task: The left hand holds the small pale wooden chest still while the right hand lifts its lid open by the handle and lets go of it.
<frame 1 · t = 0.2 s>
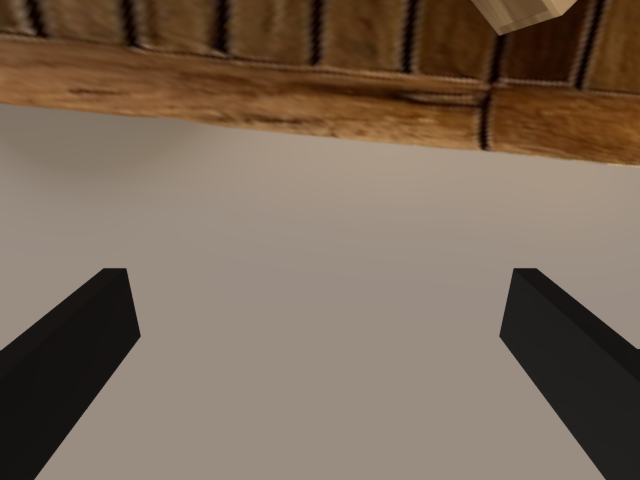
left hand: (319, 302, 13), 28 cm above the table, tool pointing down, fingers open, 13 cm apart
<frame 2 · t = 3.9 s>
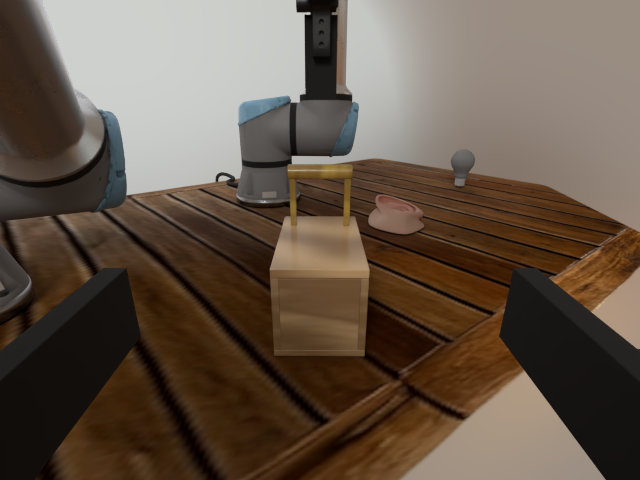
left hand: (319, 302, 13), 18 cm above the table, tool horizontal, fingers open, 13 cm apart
anatomical model: (395, 223, 74), on the table
chest: (319, 314, 43), on the table
light bulb: (459, 187, 103), on the table
lid: (319, 210, 39), point 13 cm above the table, hinge at 0.0°
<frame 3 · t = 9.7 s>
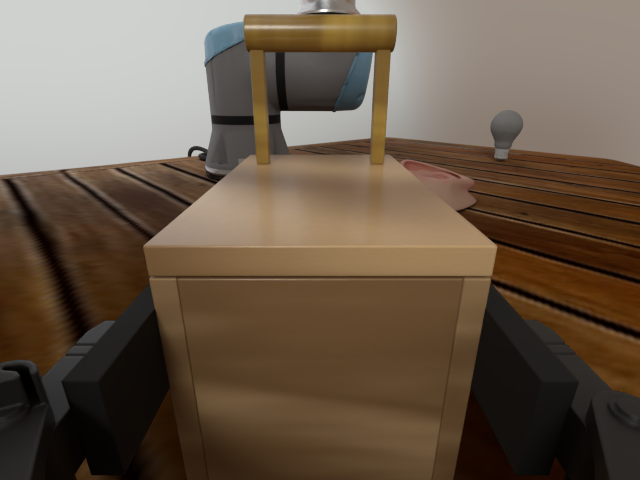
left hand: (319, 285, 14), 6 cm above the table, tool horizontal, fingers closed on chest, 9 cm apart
anatomical model: (430, 198, 50), on the table
chest: (320, 359, 20), on the table, touching left hand
light bulb: (500, 160, 79), on the table
lid: (320, 105, 15), point 13 cm above the table, hinge at 0.0°
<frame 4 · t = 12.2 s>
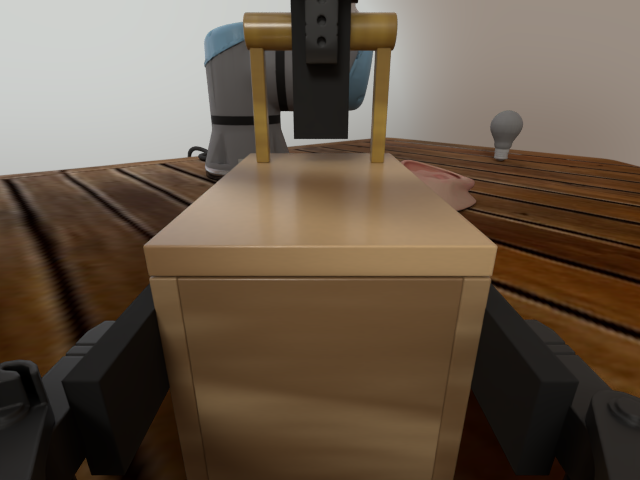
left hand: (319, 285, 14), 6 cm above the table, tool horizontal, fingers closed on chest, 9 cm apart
anatomical model: (430, 198, 50), on the table
chest: (320, 359, 20), on the table, touching left hand
light bulb: (500, 161, 79), on the table
lid: (320, 103, 15), point 13 cm above the table, hinge at 0.3°, touching right hand
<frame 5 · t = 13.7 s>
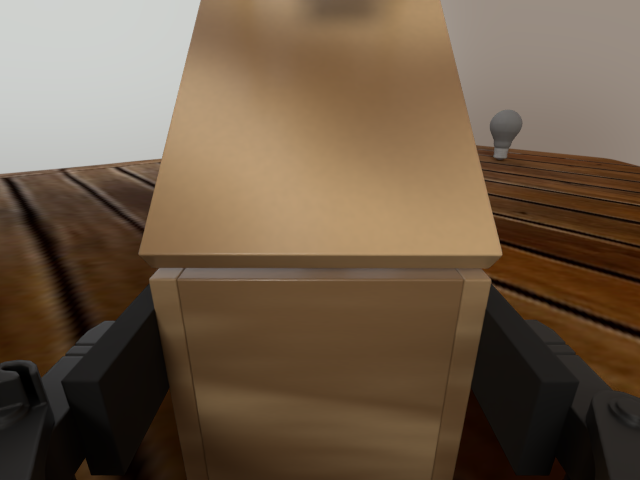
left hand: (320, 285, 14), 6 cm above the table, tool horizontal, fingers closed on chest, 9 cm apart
chest: (319, 358, 20), on the table, touching left hand
light bulb: (499, 160, 79), on the table
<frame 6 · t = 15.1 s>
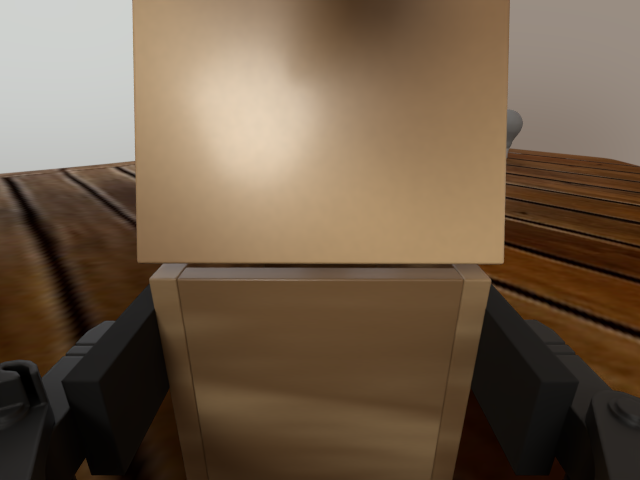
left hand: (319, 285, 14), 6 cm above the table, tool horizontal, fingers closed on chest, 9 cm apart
chest: (319, 358, 20), on the table, touching left hand
light bulb: (499, 160, 79), on the table
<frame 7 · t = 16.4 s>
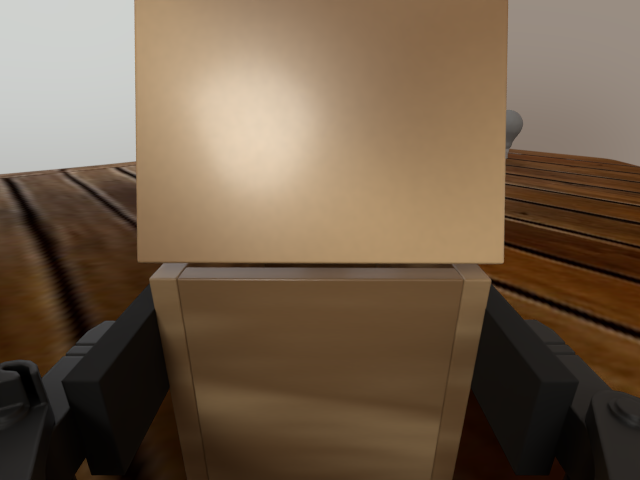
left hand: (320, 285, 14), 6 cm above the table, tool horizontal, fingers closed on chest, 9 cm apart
chest: (319, 358, 20), on the table, touching left hand
light bulb: (500, 160, 79), on the table
when the left hand's fingers open (6 cm above the table, at t = 19.1 s): chest stays where it is, on the table.
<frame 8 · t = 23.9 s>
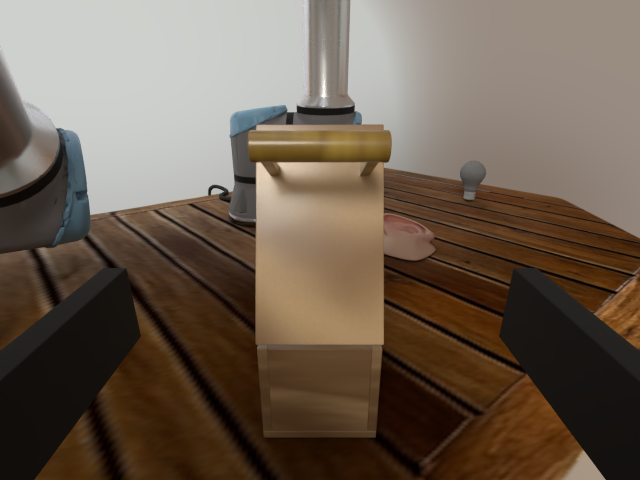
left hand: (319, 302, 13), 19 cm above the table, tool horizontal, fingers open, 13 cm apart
anatomical model: (402, 245, 67), on the table
chest: (319, 373, 36), on the table
light bulb: (468, 200, 96), on the table
lid: (319, 232, 23), point 18 cm above the table, hinge at 67.9°
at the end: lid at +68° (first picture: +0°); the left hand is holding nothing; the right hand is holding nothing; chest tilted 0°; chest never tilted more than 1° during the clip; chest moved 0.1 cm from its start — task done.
